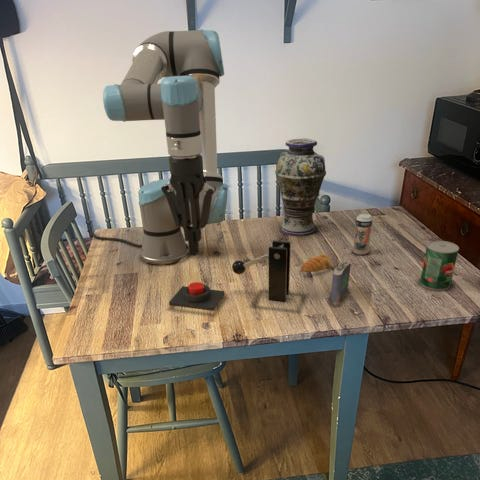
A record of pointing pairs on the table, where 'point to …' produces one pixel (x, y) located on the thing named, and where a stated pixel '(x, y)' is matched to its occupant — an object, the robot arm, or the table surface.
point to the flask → (340, 280)
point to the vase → (299, 185)
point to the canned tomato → (439, 265)
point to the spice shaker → (362, 234)
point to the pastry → (317, 263)
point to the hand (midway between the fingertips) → (194, 253)
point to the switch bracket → (279, 271)
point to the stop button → (196, 288)
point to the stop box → (197, 299)
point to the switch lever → (249, 263)
